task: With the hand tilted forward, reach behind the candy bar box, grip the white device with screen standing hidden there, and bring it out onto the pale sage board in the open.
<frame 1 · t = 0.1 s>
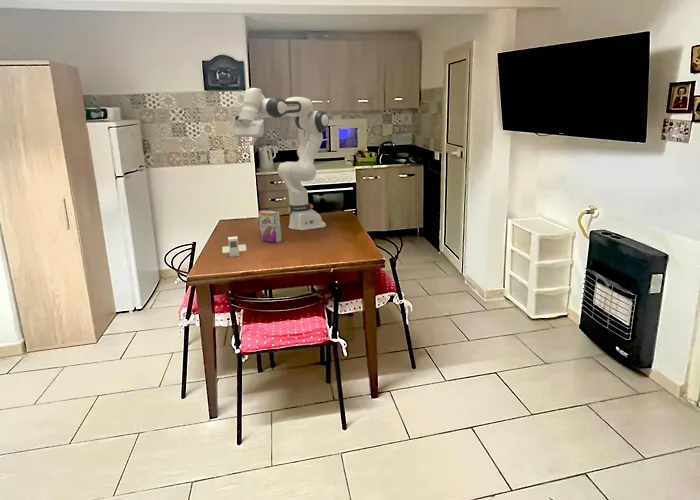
hand: (245, 145, 251), 52 cm above the table, tool tilted 20°, fingers open, 8 cm apart
white device with screen: (234, 255, 243), on the table
candy bar box: (271, 241, 266), on the table
board: (234, 249, 254), on the table
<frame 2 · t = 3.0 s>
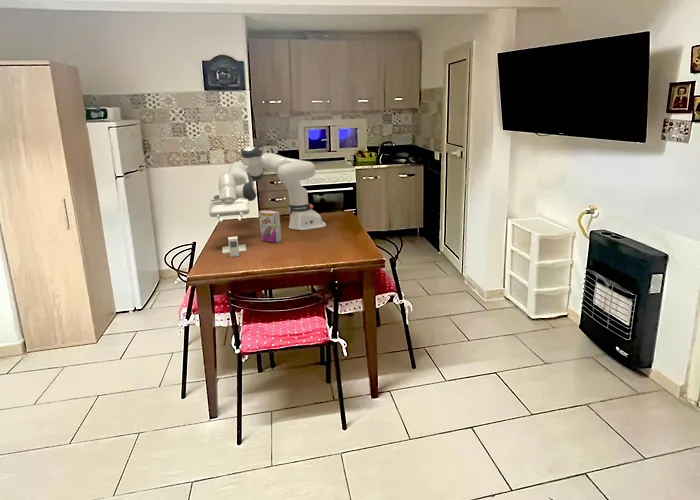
hand: (230, 221, 250), 15 cm above the table, tool tilted 45°, fingers open, 8 cm apart
nothing on the table moved.
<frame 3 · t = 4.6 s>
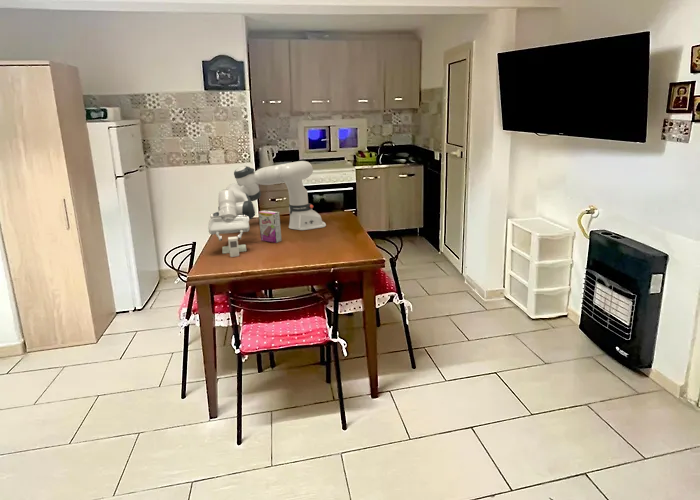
hand: (230, 239, 243), 8 cm above the table, tool tilted 45°, fingers open, 8 cm apart
nothing on the table moved.
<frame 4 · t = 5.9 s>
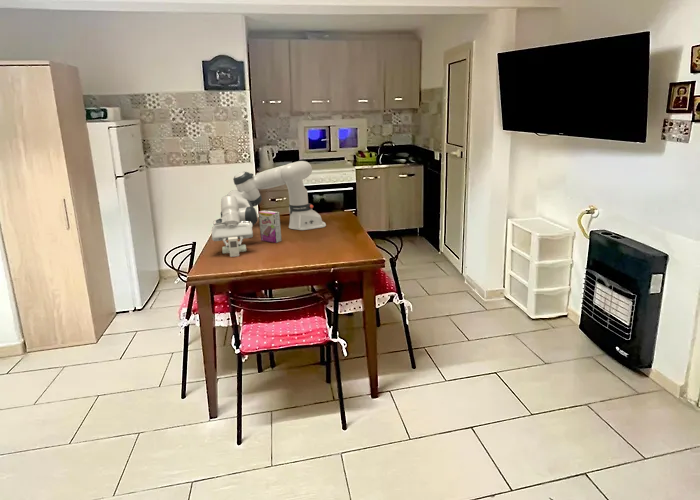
hand: (233, 246, 241), 5 cm above the table, tool tilted 45°, fingers closed on white device with screen, 4 cm apart
white device with screen: (234, 255, 243), on the table, touching gripper
everything else where it was.
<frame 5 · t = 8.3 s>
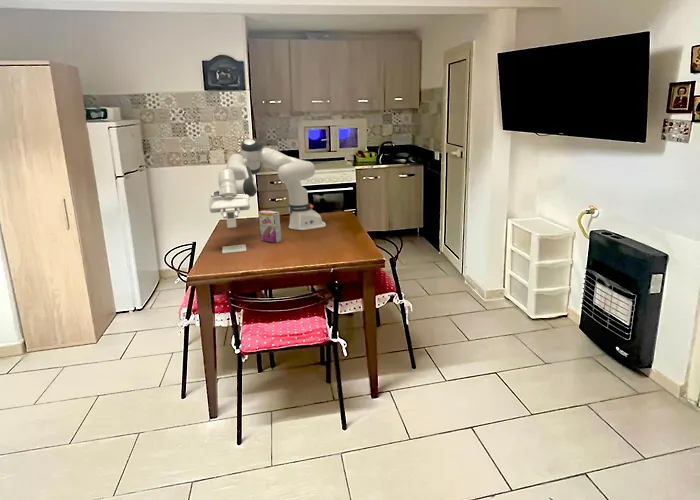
hand: (230, 217, 248), 17 cm above the table, tool tilted 45°, fingers closed on white device with screen, 4 cm apart
white device with screen: (231, 226, 250), point 12 cm above the table, touching gripper
everything else where it was.
when the fingers open (6 cm above the table, at t = 10.6 s): white device with screen drops 1 cm, resting on board.
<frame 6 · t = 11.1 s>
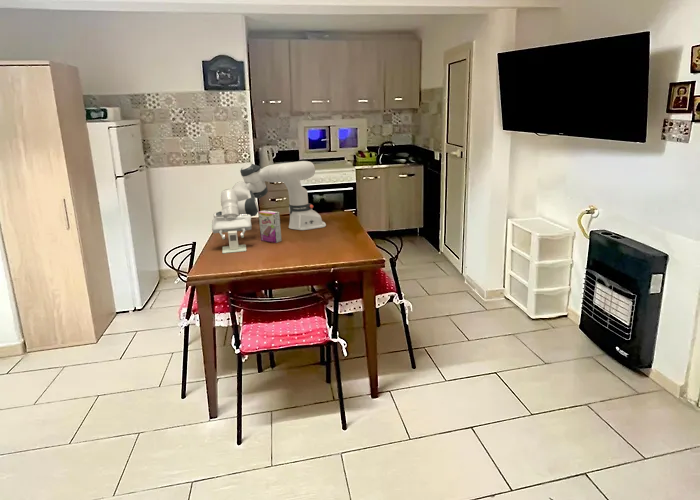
hand: (233, 237, 251), 6 cm above the table, tool tilted 45°, fingers open, 8 cm apart
white device with screen: (234, 248, 253), resting on board
everything else where it was.
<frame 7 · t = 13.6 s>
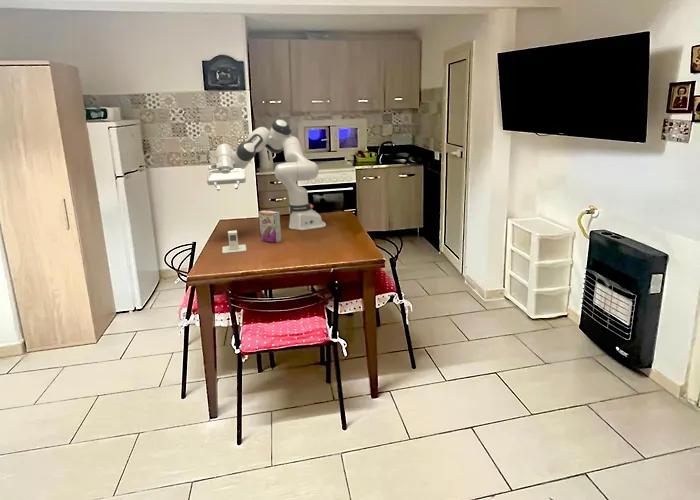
hand: (227, 189, 258), 29 cm above the table, tool tilted 45°, fingers open, 8 cm apart
nothing on the table moved.
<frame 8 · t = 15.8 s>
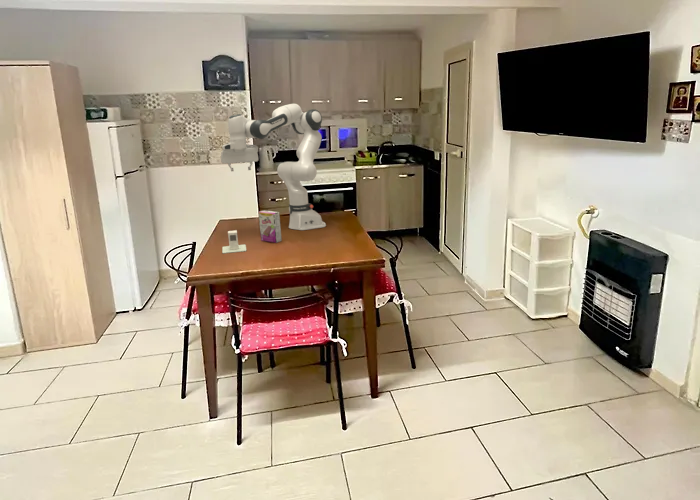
hand: (241, 170, 270), 37 cm above the table, tool pointing down, fingers open, 8 cm apart
nothing on the table moved.
at the end: white device with screen inside the target area (0.0 cm from its centre), resting on board; white device with screen tilted 0°; the gripper is holding nothing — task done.
